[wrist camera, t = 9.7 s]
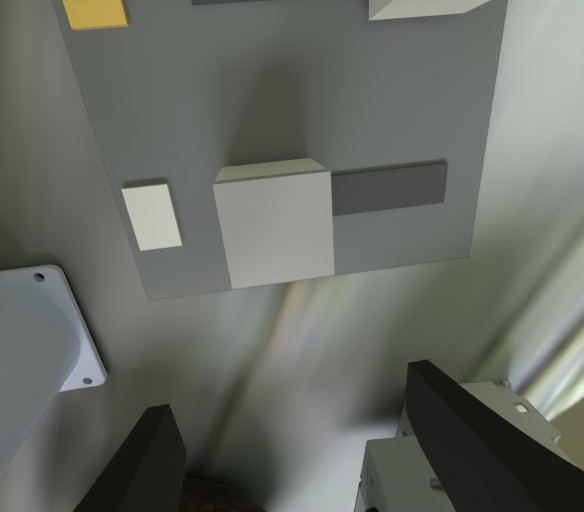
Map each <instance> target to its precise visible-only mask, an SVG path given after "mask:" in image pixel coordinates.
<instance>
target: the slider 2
mask: <svg viewBox="0 0 584 512" xmlns="http://www.w3.org/2000/svg"><path fill="white" fill-rule="evenodd" d="M488 1H490V0H369V20H381V19H394V18H407V17H420V16H433V15H446V14H459V13H465V12H467V11H469V10H472V9H474V8H476V7H478V6H480V5H482V4H484V3H486V2H488Z"/></svg>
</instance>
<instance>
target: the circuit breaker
mask: <svg viewBox="0 0 584 512" xmlns="http://www.w3.org/2000/svg"><path fill="white" fill-rule="evenodd" d="M459 385H460V386H462V387H463V388H464V389H465V390H467V391H468V392H469V393H471V394H472V395H473V396H475V397H476V398H477V399H478V400H480V401H481V402H482V403H484V404H485V405H486V406H488V407H489V408H491V409H492V410H493V411H495V412H496V413H497V414H499V415H500V416H501V417H503V418H504V419H505V420H507V421H508V422H510V423H511V424H512V425H514V426H515V427H517V428H518V429H520V430H521V431H523V432H524V433H525V434H527V435H528V436H530V437H531V438H533V439H534V440H536V441H537V442H539V443H540V444H542V445H543V446H545V447H546V448H548V449H549V450H551V451H552V452H554V453H555V454H557V455H558V456H560V457H562V458H563V459H565V460H566V461H568V462H570V463H571V464H573V465H575V464H574V463H573V462H572V461H571V460H570V459H569V457H568V456H567V455H566V454H565V453H564V452H563V451H562V450H561V449H560V448H559V447H558V446H557V445H556V443H557V441H558V440H559V438H560V436H561V434H560V433H559V432H558V431H557V430H556V429H555V428H554V427H553V426H552V425H551V424H550V423H549V422H548V421H547V420H546V419H545V418H544V417H543V416H542V415H541V414H540V413H539V412H538V411H537V410H536V408H535V407H534V406H533V405H532V404H531V403H530V402H529V401H528V400H527V399H526V398H525V397H524V396H522V397H518V396H517V395H516V394H515V393H514V392H513V391H512V390H511V388H510V386H511V383H510V382H509V381H508V380H504V381H502V383H501V384H500V385H495V384H494V383H493V382H492V381H490V382H477V383H463V384H459ZM405 405H406V398H405V402H404V406H403V411H402V415H401V419H400V423H399V428H398V432H397V436H396V437H394V438H384V439H374V440H367V443H366V448H365V454H364V459H363V465H362V470H361V475H360V478H361V481H360V482H359V486H358V492H357V497H356V503H355V508H354V512H456V511H455V509H454V507H453V505H452V503H451V502H450V500H449V498H448V496H447V494H446V493H445V491H444V489H443V487H442V485H441V483H440V482H439V480H438V478H437V476H436V474H435V473H434V471H433V469H432V467H431V465H430V463H429V462H428V460H427V458H426V456H425V454H424V452H423V451H422V449H421V447H420V445H419V443H418V440H417V438H416V436H415V433H414V431H413V429H412V426H411V424H410V421H409V419H408V416H407V414H406V411H405ZM515 405H522V406H523V407H524V408H525V409H526V410H527V411H528V412H519V411H518V410H517V409H516V408H515ZM575 466H576V465H575ZM576 467H577V466H576Z"/></svg>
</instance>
